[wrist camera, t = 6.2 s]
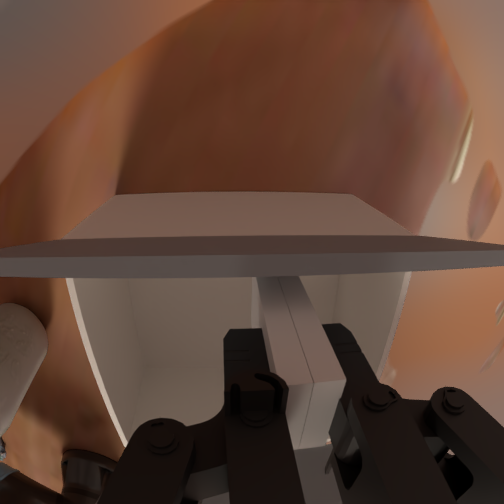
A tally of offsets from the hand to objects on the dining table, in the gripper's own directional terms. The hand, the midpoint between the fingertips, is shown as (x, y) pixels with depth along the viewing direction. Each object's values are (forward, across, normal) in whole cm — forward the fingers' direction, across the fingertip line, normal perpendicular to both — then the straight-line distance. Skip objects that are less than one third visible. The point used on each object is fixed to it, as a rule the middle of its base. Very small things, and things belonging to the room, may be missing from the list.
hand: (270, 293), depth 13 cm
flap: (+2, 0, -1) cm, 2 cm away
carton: (+21, +1, +12) cm, 24 cm away
